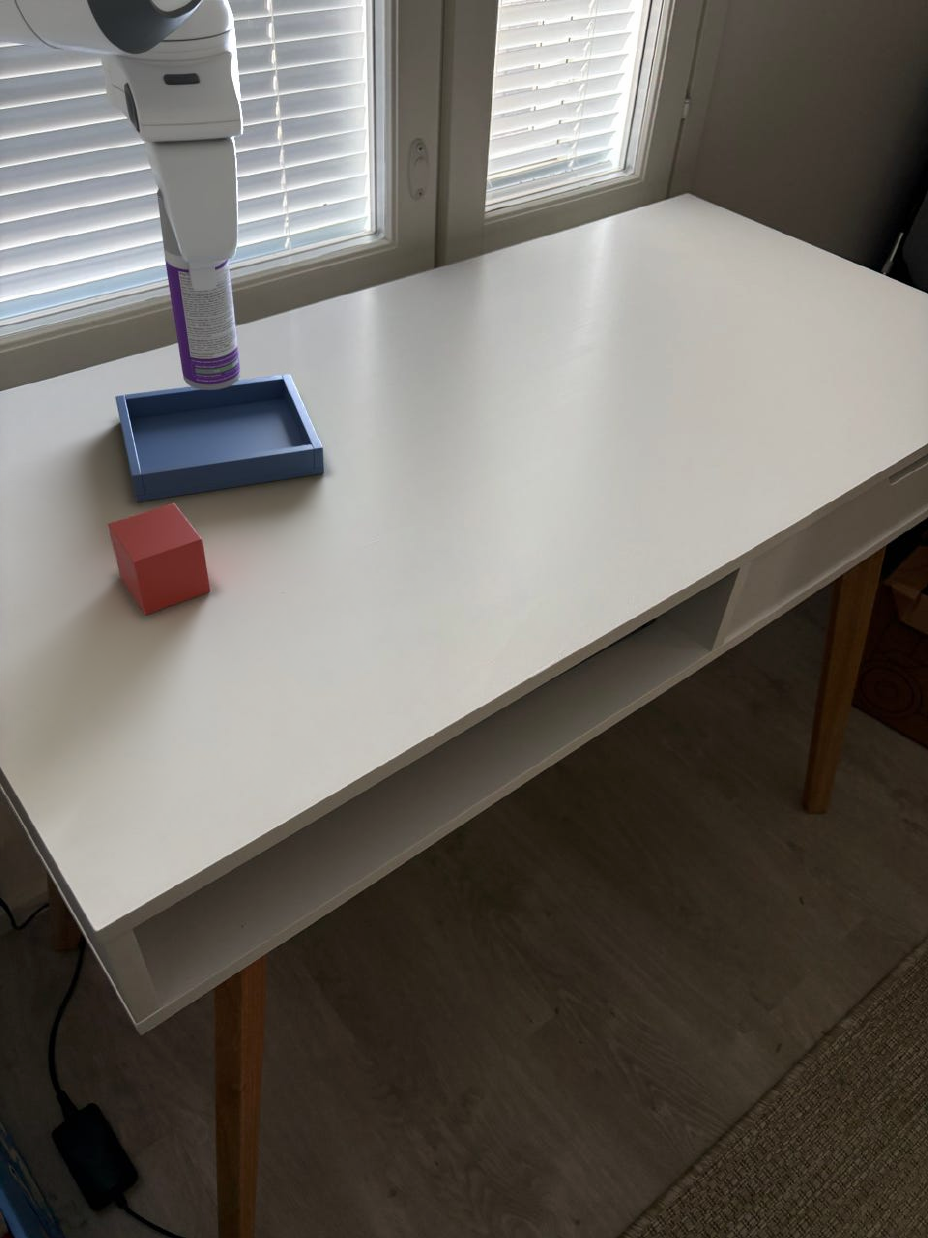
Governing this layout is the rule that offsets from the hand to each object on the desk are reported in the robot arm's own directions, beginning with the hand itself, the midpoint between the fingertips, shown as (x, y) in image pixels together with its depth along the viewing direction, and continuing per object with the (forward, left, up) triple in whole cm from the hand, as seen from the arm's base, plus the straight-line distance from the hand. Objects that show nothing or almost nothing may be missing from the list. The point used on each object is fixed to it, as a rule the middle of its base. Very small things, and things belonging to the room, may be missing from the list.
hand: (197, 269), depth 78 cm
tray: (0, 0, -16) cm, 16 cm away
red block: (-7, -17, -16) cm, 24 cm away
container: (0, 0, -9) cm, 9 cm away
